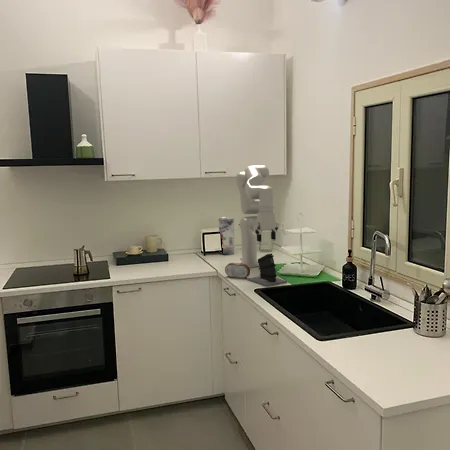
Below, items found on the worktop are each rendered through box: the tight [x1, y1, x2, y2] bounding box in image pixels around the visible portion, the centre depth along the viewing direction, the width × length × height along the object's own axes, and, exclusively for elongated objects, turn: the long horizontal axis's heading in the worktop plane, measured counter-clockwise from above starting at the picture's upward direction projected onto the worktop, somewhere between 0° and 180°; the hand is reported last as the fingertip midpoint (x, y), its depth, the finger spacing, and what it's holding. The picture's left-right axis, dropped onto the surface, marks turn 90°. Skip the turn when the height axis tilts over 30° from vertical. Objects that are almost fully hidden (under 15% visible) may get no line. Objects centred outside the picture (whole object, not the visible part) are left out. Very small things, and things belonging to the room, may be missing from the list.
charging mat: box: [246, 275, 288, 288], centre depth 265 cm, size 18×14×4 cm
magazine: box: [257, 253, 278, 282], centre depth 264 cm, size 4×13×15 cm, turn 32°
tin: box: [224, 262, 251, 279], centre depth 274 cm, size 15×3×8 cm, turn 66°
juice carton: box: [218, 216, 235, 256], centre depth 342 cm, size 9×10×27 cm
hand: (266, 240), depth 262 cm, fingers open, 9 cm apart
